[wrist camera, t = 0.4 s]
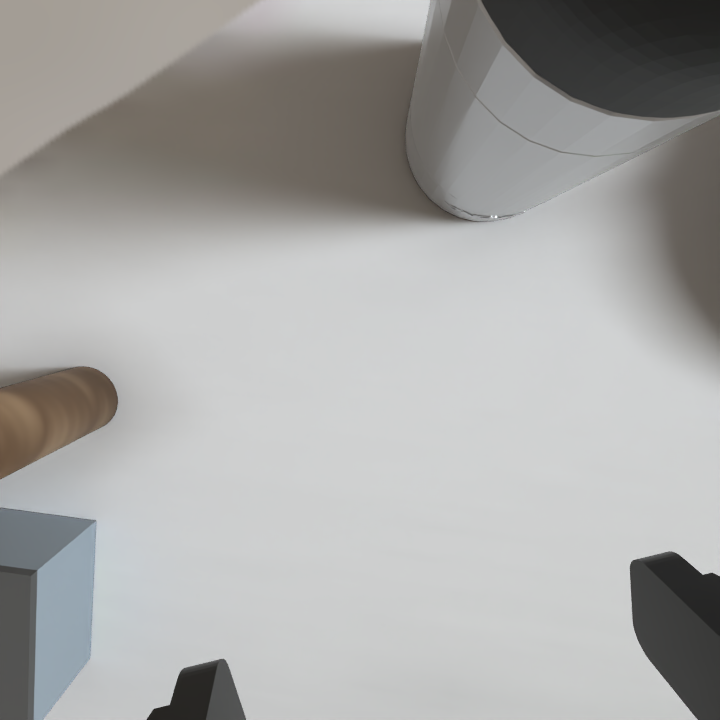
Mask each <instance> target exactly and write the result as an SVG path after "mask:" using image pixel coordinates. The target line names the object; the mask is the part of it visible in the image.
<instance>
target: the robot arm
mask: <svg viewBox="0 0 720 720" xmlns="http://www.w3.org/2000/svg"><path fill="white" fill-rule="evenodd" d="M719 115H720V0H431V1H430V6H429V11H428V16H427V21H426V27H425V32H424V37H423V42H422V47H421V52H420V57H419V62H418V67H417V72H416V78H415V83H414V87H413V91H412V97H411V102H410V107H409V112H408V118H407V125H406V132H405V139H406V153H407V157H408V161H409V164H410V168H411V171H412V173H413V175H414V177H415V179H416V181H417V183H418V185H419V186H420V188H421V189H422V190H423V191H424V192H425V194H426V195H427V196H428V197H429V199H430V200H432V201H433V202H434V203H435V204H437V205H438V206H439V207H440V208H442V209H443V210H445V211H447V212H449V213H451V214H453V215H455V216H457V217H460V218H464V219H468V220H472V221H497V220H502V219H507V218H511V217H513V216H515V215H518V214H521V213H524V212H525V211H527V210H529V209H531V208H533V207H535V206H537V205H539V204H541V203H543V202H546V201H548V200H550V199H552V198H554V197H556V196H558V195H560V194H562V193H564V192H566V191H568V190H570V189H572V188H574V187H576V186H578V185H580V184H582V183H584V182H586V181H588V180H590V179H592V178H594V177H596V176H598V175H600V174H602V173H604V172H606V171H608V170H610V169H612V168H614V167H616V166H618V165H620V164H623V163H625V162H627V161H629V160H631V159H633V158H635V157H637V156H639V155H641V154H643V153H645V152H647V151H649V150H651V149H653V148H655V147H657V146H659V145H661V144H663V143H665V142H667V141H669V140H670V139H672V138H674V137H676V136H678V135H680V134H683V133H685V132H687V131H689V130H691V129H693V128H695V127H697V126H699V125H701V124H703V123H705V122H707V121H709V120H711V119H713V118H715V117H717V116H719ZM630 580H631V598H632V616H633V626H634V630H635V633H636V636H637V639H638V641H639V643H640V645H641V647H642V649H643V651H644V653H645V654H646V656H647V657H648V659H649V660H650V661H651V662H652V664H653V665H654V666H655V667H656V669H657V670H658V671H659V672H660V674H661V675H662V676H663V677H664V679H665V680H666V681H667V682H668V683H669V685H670V686H671V687H672V688H673V690H674V691H675V692H676V693H677V695H678V696H679V697H680V698H681V700H682V701H683V702H684V703H685V704H686V706H687V707H688V708H689V709H690V711H691V712H692V713H693V714H694V716H695V717H696V718H697V719H698V720H720V576H718V575H716V574H714V573H709V574H705V575H702V574H701V573H700V572H699V571H697V570H696V569H695V568H694V567H693V566H692V565H690V564H689V563H688V562H687V561H686V560H685V559H683V558H682V557H681V556H680V555H678V554H677V553H675V552H665V553H661V554H657V555H653V556H649V557H645V558H641V559H637V560H633V561H632V562H631V565H630ZM147 720H246V718H245V715H244V712H243V709H242V706H241V703H240V700H239V697H238V694H237V691H236V688H235V684H234V681H233V678H232V675H231V672H230V669H229V667H228V664H227V662H226V661H225V660H224V659H220V660H216V661H211V662H207V663H203V664H199V665H195V666H191V667H187V668H184V669H182V671H181V672H180V674H179V676H178V679H177V683H176V686H175V689H174V693H173V696H172V700H171V703H170V705H168V706H164V707H160V708H156V709H154V710H153V711H152V713H151V714H150V715H149V717H148V718H147Z"/></svg>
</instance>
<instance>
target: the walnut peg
mask: <svg viewBox="0 0 720 720" xmlns="http://www.w3.org/2000/svg"><path fill="white" fill-rule="evenodd" d="M117 405H118V397H117V393H116V389H115V387H114V385H113V383H112V382H111V381H110V379H109V378H108V377H107V376H106V375H105V374H103V373H102V372H100V371H98V370H96V369H94V368H90V367H76V368H72V369H68V370H65V371H61V372H57V373H54V374H50V375H46V376H43V377H39V378H35V379H32V380H28V381H24V382H21V383H17V384H13V385H10V386H6V387H2V388H0V479H2V478H4V477H6V476H8V475H10V474H11V473H13V472H15V471H17V470H19V469H21V468H23V467H25V466H27V465H29V464H31V463H33V462H35V461H37V460H39V459H41V458H42V457H44V456H46V455H48V454H50V453H52V452H54V451H56V450H58V449H60V448H62V447H64V446H66V445H68V444H70V443H71V442H73V441H75V440H77V439H79V438H81V437H83V436H85V435H87V434H89V433H91V432H93V431H95V430H97V429H99V428H101V427H102V426H104V425H106V424H107V423H108V422H109V421H110V420H111V419H112V418H113V416H114V415H115V412H116V410H117Z"/></svg>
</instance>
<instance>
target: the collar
mask: <svg viewBox="0 0 720 720" xmlns="http://www.w3.org/2000/svg"><path fill="white" fill-rule="evenodd" d="M95 536H96V521H94V520H87V519H79V518H72V517H64V516H57V515H50V514H42V513H35V512H27V511H20V510H13V509H5V508H0V720H43V719H44V718H45V716H46V715H47V714H48V712H49V711H50V710H51V709H52V707H53V706H54V705H55V703H56V702H57V701H58V699H59V698H60V697H61V695H62V694H63V693H64V692H65V690H66V689H67V688H68V686H69V685H70V684H71V682H72V681H73V680H74V678H75V677H76V676H77V675H78V673H79V672H80V671H81V669H82V668H83V667H84V665H85V664H86V663H87V661H88V660H89V659H90V647H91V625H92V603H93V580H94V558H95Z"/></svg>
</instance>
